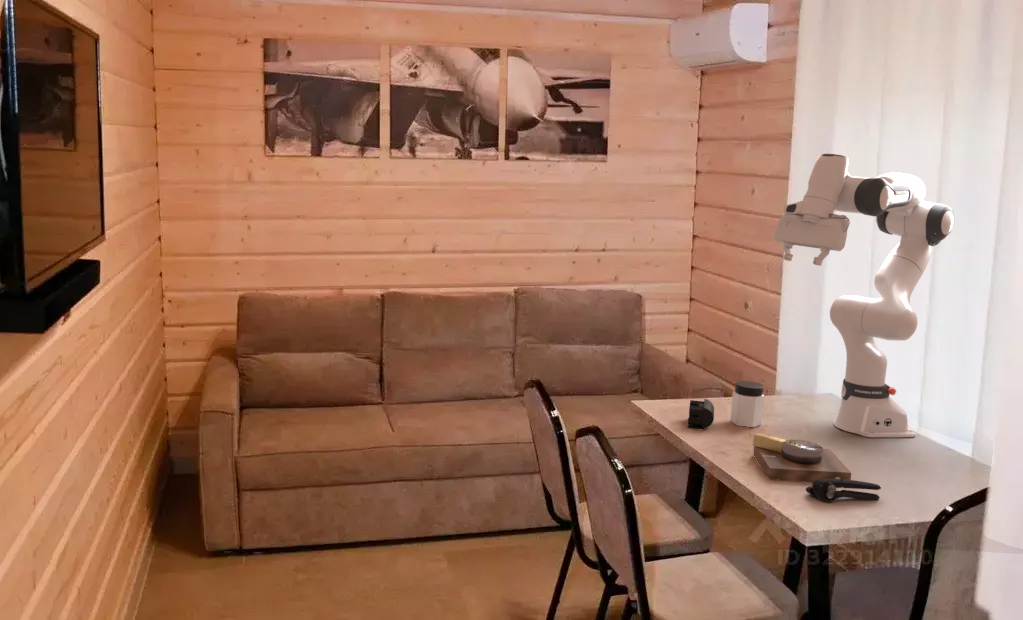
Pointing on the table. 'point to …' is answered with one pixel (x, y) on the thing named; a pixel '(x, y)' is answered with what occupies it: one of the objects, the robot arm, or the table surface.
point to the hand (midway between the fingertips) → (801, 262)
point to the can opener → (828, 493)
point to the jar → (747, 404)
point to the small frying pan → (790, 448)
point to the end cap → (700, 414)
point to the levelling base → (800, 467)
